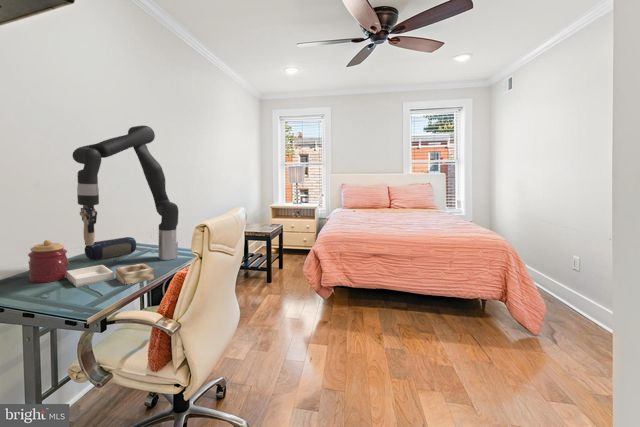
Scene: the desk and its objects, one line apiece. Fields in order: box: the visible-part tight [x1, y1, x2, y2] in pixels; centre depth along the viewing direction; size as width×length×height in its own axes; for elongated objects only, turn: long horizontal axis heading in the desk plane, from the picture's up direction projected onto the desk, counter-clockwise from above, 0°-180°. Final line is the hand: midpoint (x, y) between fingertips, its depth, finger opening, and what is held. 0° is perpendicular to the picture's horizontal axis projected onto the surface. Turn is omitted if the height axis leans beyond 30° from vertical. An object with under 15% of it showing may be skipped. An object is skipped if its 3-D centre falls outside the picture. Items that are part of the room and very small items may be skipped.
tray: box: [66, 264, 115, 288], centre depth 138 cm, size 14×14×4 cm
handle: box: [79, 211, 96, 247], centre depth 135 cm, size 5×6×15 cm
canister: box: [27, 239, 69, 284], centre depth 134 cm, size 13×13×18 cm
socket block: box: [115, 263, 155, 286], centre depth 142 cm, size 12×11×5 cm
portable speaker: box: [84, 236, 137, 261], centre depth 171 cm, size 25×10×10 cm, turn 152°
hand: (89, 231), depth 135 cm, fingers closed on handle, 4 cm apart
